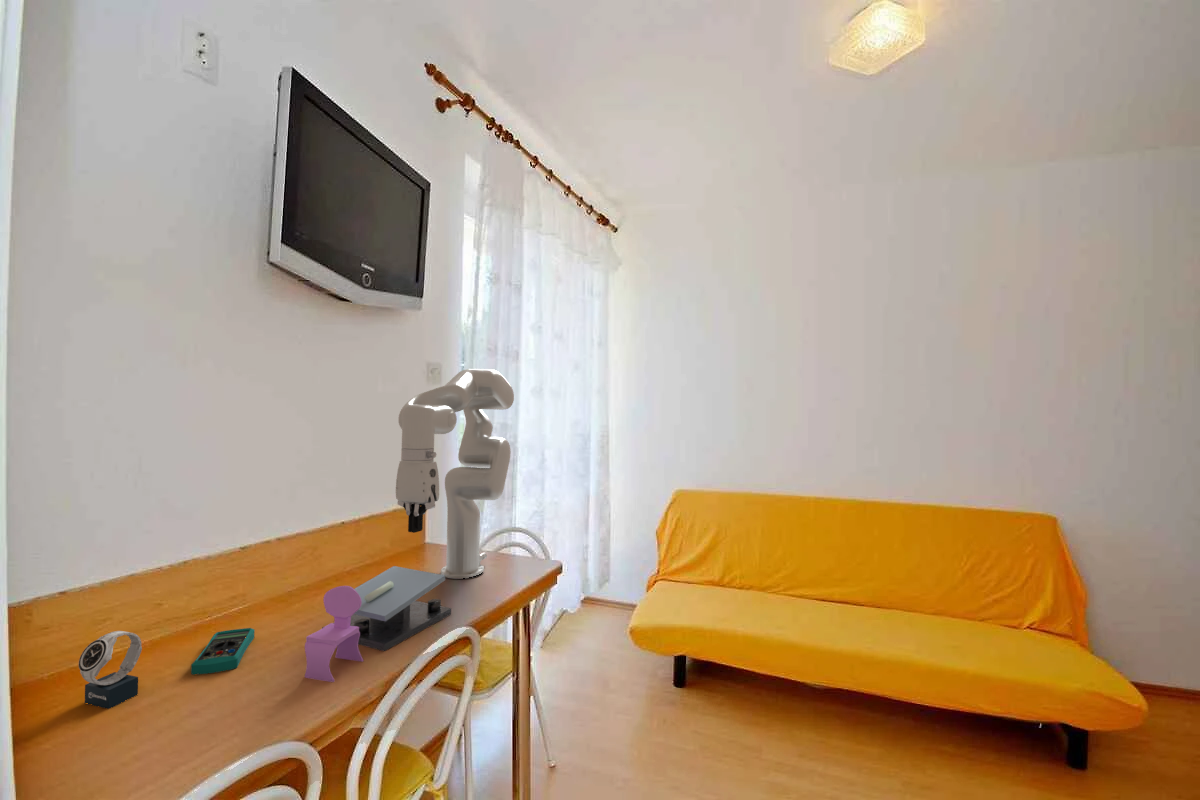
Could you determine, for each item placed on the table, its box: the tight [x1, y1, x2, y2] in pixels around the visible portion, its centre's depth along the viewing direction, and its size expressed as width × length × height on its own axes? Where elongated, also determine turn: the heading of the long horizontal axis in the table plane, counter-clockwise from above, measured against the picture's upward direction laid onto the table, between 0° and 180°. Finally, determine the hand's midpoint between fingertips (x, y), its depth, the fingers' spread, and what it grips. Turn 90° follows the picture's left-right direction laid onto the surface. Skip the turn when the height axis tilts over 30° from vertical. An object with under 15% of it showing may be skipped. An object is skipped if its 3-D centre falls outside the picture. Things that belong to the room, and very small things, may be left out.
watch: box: [78, 630, 143, 710], centre depth 89 cm, size 6×8×11 cm
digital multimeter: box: [190, 627, 255, 676], centre depth 105 cm, size 7×15×3 cm, turn 22°
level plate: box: [354, 565, 446, 621], centre depth 121 cm, size 19×16×3 cm
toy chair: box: [304, 585, 365, 683], centre depth 101 cm, size 8×9×15 cm
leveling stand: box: [321, 598, 452, 652], centre depth 121 cm, size 21×18×6 cm
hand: (415, 531), depth 128 cm, fingers closed
